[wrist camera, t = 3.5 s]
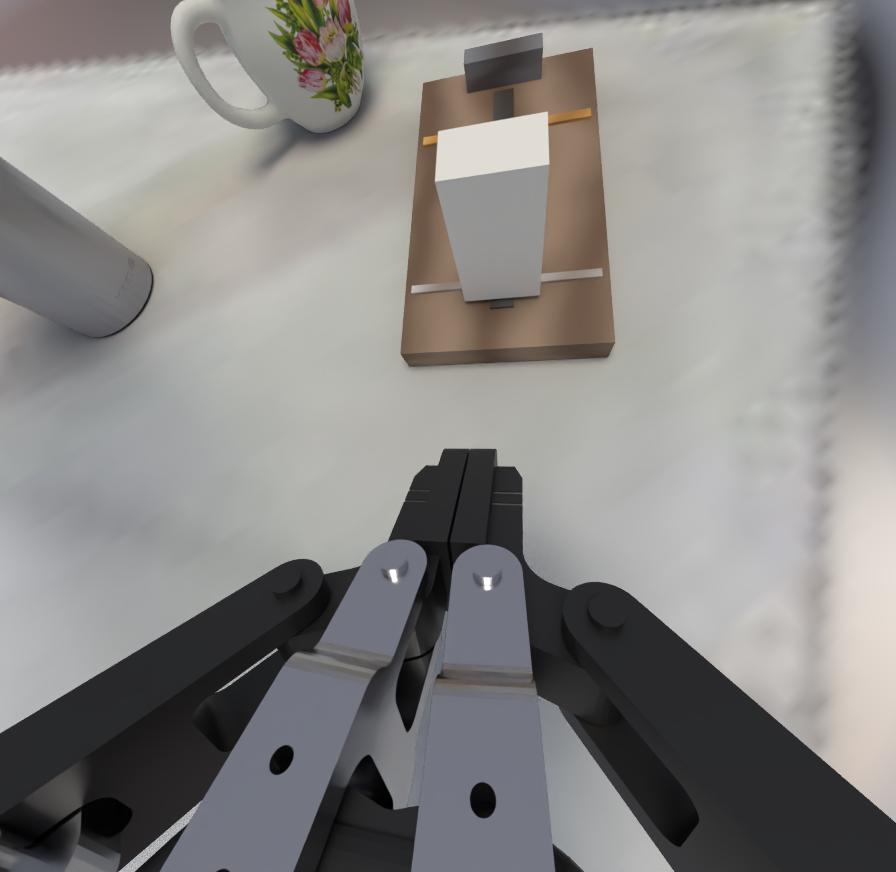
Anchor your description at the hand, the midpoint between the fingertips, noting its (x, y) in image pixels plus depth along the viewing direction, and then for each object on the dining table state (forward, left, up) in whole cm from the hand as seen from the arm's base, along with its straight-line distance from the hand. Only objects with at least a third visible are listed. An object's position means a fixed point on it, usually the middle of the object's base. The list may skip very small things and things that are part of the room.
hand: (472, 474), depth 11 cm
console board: (0, +23, -13) cm, 27 cm away
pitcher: (-18, +38, -14) cm, 44 cm away
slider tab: (0, +15, -11) cm, 19 cm away
